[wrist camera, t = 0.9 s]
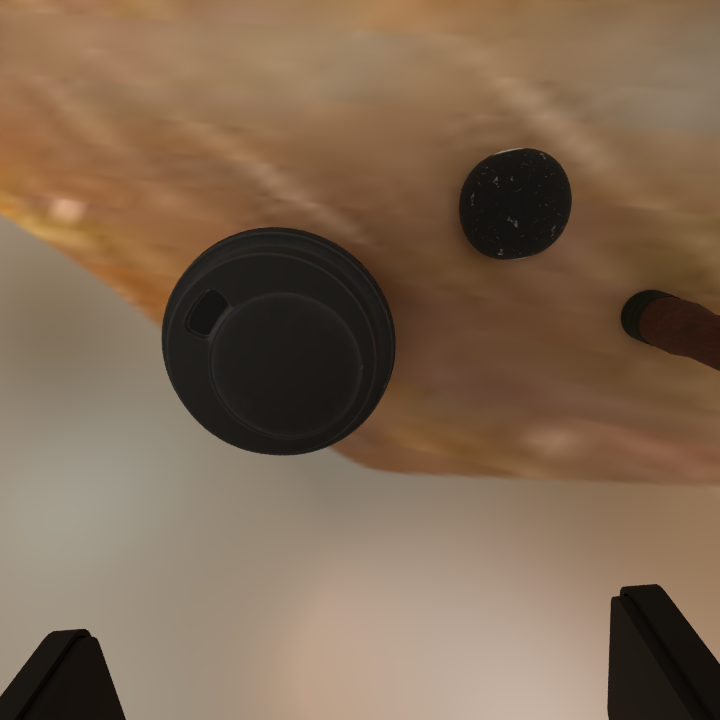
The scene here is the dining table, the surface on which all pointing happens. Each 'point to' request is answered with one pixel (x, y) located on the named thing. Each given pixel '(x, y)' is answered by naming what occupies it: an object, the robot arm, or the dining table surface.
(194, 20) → the dining table surface
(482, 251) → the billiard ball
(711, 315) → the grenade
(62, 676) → the robot arm
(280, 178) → the dining table surface
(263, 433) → the coffee cup
